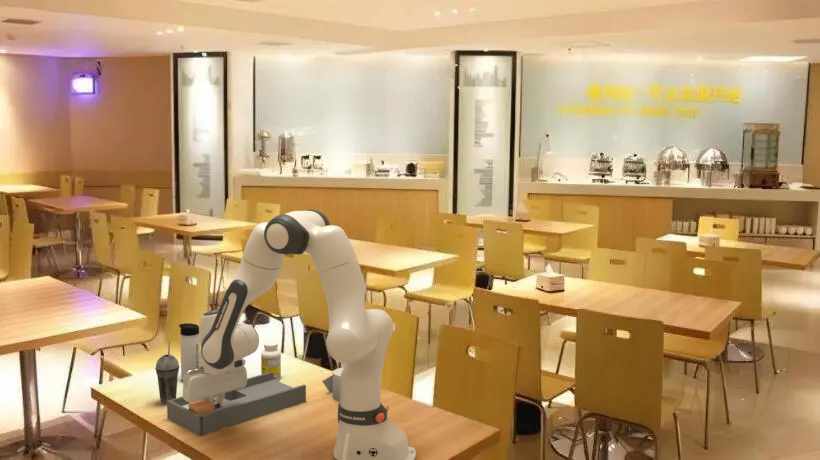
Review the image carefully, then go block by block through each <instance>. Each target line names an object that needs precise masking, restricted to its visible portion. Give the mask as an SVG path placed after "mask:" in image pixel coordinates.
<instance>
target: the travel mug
mask: <svg viewBox="0 0 820 460" xmlns="http://www.w3.org/2000/svg"><path fill="white" fill-rule="evenodd" d="M199 326H200V325H198V324H195V323H188V322H187V323H180V324H178V327H179V328H180V332H179V333H180V334H179V335H180V336H179V337H180V375H181V376H180V377H181V378H180V379H181V382H182V383H183V384H184V382H183V377H184V375H185V374H186V373H187V372H188V371H189V370H193V369H196V368H200V350H201V345H200V341H199Z"/></svg>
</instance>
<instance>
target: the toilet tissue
mask: <svg viewBox="0 0 820 460" xmlns="http://www.w3.org/2000/svg"><path fill="white" fill-rule="evenodd" d="M343 368H344V367H339V368H336V369H334V370H332V375H330V376H329V377H327V378H325V379H323V380H322V384H323V385H324V386H325V388H326V389H327V391H328V392H329V393H331V392H332V400H334V401H337V402H339V403H340V376H341V373H342V370H343Z"/></svg>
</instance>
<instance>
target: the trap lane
mask: <svg viewBox="0 0 820 460" xmlns="http://www.w3.org/2000/svg"><path fill="white" fill-rule="evenodd" d="M217 398H218V395H216V396H214V399H212V400H213V401H214V402H216V401H217ZM205 400H207V399H205ZM207 401H208V400H207ZM306 401H307V386H306V384H301V385H297V386H294V387H293V386H291V385H287V384H285V383H283V382H280V381H279V380H278V381H276V380H274V372H269V373H265V374H262V375H261V374H259V375H254V376H251V377H247V384H246V386H245V387H244V388H240V389H237V390H233V391H230V392H226V393H225V397H224V399H223V401H222V407H221V408H218V409H215V410H213V412H212V413H209V414H205V415H202V416H200V415H198V414H196V413H194V412H192V411H191V410H189V403H190V402H187V401H186V400H184V399H183V395H182V396H180V397H176V398H175V399H172V400H168V401H167V405H166V412H167V413H166V414H167V419H168V420H170V421H171V422H173V423H175V424H177V425H179V426H180V427H183V428H184V429H186V430H188V431H190V432H192V433H194V434H195V435H197V436H199V437H202V436H205V435H208V434H211V433H213V432H217V431H221V430H224V429H226V428H230V427H233V426H236V425H239V424H242V423H245V422H248V421H251V420H255V419H256V418H260V417H263V416H267V415H269V414H272V413H277V412H279V411H281V410H284V409H288V408H291V407H294V406H298V405H300V404H303V403H306Z"/></svg>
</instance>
